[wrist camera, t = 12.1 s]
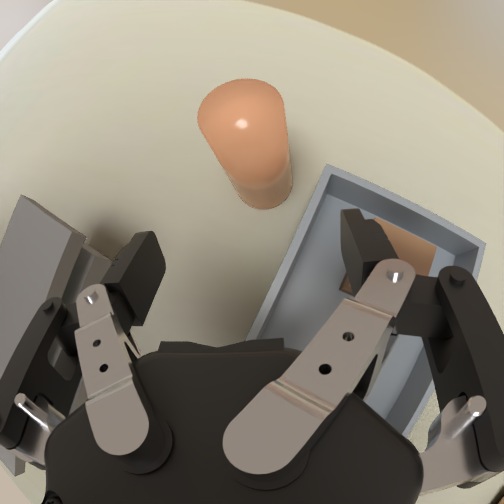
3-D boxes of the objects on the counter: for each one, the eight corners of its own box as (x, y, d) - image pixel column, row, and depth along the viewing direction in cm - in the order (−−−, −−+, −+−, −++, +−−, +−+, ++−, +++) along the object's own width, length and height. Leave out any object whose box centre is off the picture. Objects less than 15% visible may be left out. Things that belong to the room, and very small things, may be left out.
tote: (370, 447, 21) (382, 473, 16) (227, 388, 24) (211, 406, 19) (458, 253, 22) (486, 243, 18) (322, 187, 25) (326, 163, 21)
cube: (391, 313, 22) (413, 315, 17) (338, 289, 23) (348, 286, 18) (412, 257, 23) (437, 246, 18) (361, 233, 24) (375, 216, 19)
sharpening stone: (95, 226, 29) (21, 194, 18) (148, 258, 27) (72, 231, 16) (35, 406, 26) (-27, 422, 16) (76, 446, 25) (14, 476, 14)
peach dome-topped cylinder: (278, 217, 26) (261, 157, 15) (227, 197, 27) (182, 133, 16) (300, 168, 26) (296, 89, 15) (250, 151, 27) (221, 72, 16)
